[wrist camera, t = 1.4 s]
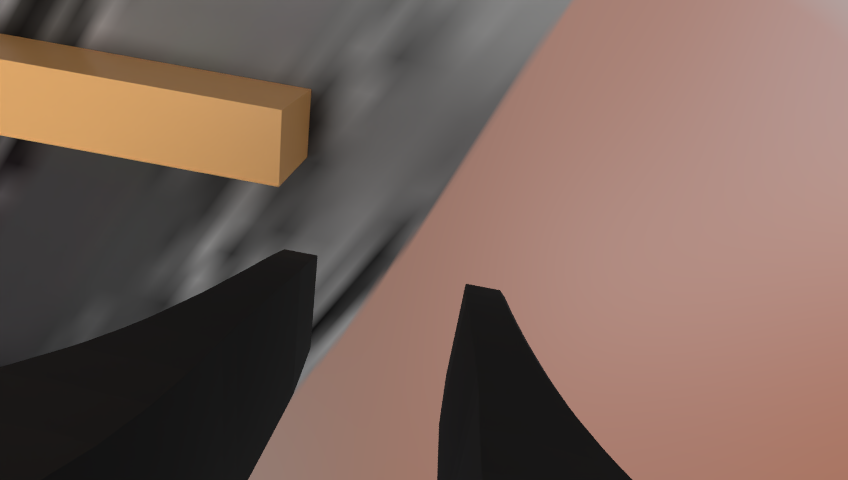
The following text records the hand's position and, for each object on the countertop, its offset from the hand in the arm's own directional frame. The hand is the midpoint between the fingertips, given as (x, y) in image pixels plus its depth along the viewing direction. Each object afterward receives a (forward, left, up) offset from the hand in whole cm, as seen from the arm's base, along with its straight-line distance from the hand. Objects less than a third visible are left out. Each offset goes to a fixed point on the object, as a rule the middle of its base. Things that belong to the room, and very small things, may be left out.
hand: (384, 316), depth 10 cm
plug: (0, +13, -10) cm, 17 cm away
